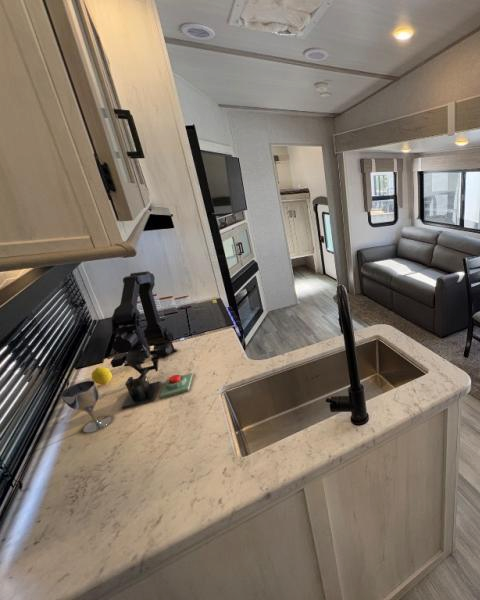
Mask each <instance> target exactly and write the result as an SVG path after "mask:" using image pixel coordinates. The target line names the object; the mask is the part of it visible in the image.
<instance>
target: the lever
mask: <svg viewBox="0 0 480 600" xmlns="http://www.w3.org/2000/svg"><path fill="white" fill-rule="evenodd" d="M153 370H155V368H154V365H153V364H152V365H148V366H144V367H142V368H141V372H143V373H142V374H145V375H146V376H147V374H148V373H149V372H150V371H153ZM142 374H140V375H139V376H138V377H136V378H133V379H134V380H133V381H132V382H131V383H132V386H133V388H135V387H139V386H141V385H140V383H139V379H140V377H141V375H142Z"/></svg>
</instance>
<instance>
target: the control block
mask: <svg viewBox="0 0 480 600" xmlns="http://www.w3.org/2000/svg"><path fill="white" fill-rule="evenodd" d="M179 375H180V378H181V380H180V381H179V382H177V383H173V384H170V382H169V378H167V379H166V380H165V382H164V384H163V387H162V390H161V392H160V395H159V398H160V399H165V398H167V397H171V396H174V395H175V396H176V395H178V394H183V393H186V392H189V391H190V387H191V383H192V381H193V377H194V374H193V373H188V374H182V375H181V374H179Z"/></svg>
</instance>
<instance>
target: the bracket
mask: <svg viewBox="0 0 480 600" xmlns="http://www.w3.org/2000/svg"><path fill="white" fill-rule="evenodd" d="M140 375H141V374H140ZM134 379H135V378H133V376H129V377H128V378H127V380H126V381H125V384H124V385H125V387H126V389H127V391H128V395H127V397H126V398H125V400H124V402H123V405H122V406H121V408H122V409H123V410H125V409H129V408H132V407H137V406H140V405H143V404H147V403H151V402H154V400H155V397H156V396H157V393H158V391H159V388H160V386H161V381H160V380H159V381H154V382H151V383H150V382H149V379H148V376H147V374H146V375H145V374H142V375H141V377H140V379H139V383H140V385H141V386H139V387H135V388H133V386H132V383H131V382H132V381H133V380H134Z"/></svg>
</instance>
